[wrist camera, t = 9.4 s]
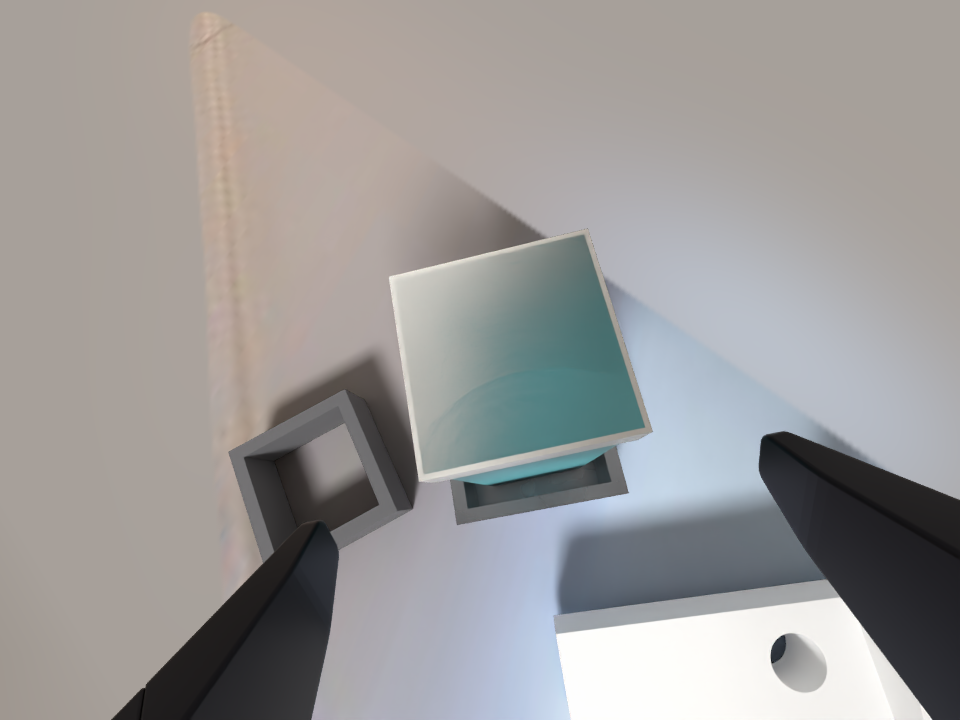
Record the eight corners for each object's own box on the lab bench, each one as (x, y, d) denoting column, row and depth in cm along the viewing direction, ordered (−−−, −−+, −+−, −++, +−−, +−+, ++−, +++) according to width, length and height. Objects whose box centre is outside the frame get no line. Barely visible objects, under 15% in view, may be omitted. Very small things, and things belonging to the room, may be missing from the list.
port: (609, 493, 20) (628, 493, 16) (473, 518, 21) (456, 525, 17) (575, 362, 22) (584, 331, 18) (452, 388, 23) (432, 363, 19)
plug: (581, 470, 20) (652, 431, 8) (491, 489, 20) (419, 481, 8) (559, 382, 21) (587, 228, 9) (474, 401, 22) (388, 276, 9)
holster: (412, 509, 21) (396, 510, 19) (299, 571, 21) (269, 581, 19) (364, 399, 23) (344, 389, 21) (260, 456, 23) (228, 451, 21)
